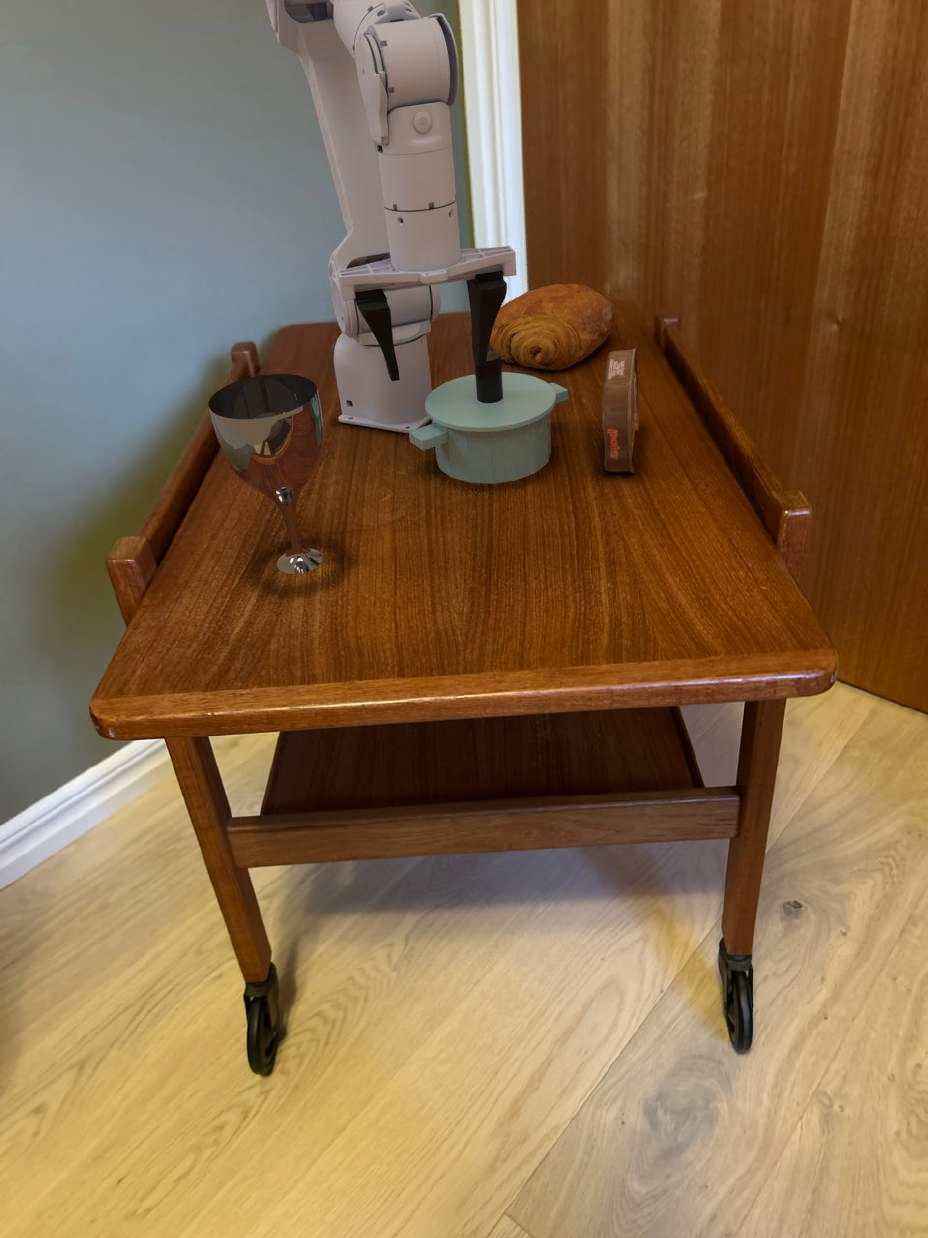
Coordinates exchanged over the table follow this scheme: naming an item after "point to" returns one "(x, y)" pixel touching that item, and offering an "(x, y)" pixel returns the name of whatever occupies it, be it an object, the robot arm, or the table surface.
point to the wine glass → (273, 446)
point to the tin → (620, 409)
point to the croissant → (552, 326)
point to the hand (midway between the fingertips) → (437, 369)
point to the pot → (490, 449)
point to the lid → (490, 399)
